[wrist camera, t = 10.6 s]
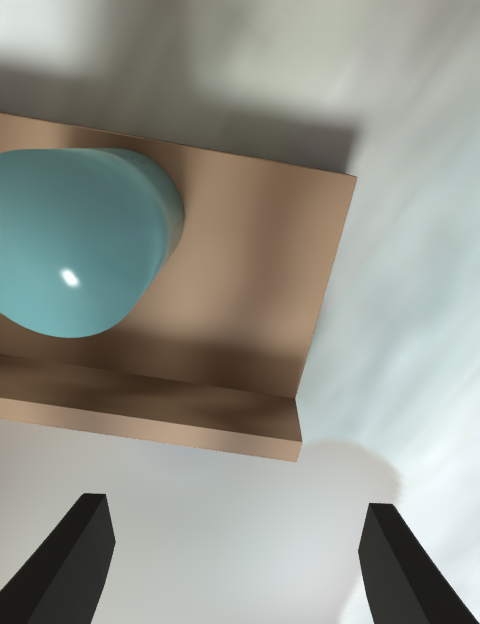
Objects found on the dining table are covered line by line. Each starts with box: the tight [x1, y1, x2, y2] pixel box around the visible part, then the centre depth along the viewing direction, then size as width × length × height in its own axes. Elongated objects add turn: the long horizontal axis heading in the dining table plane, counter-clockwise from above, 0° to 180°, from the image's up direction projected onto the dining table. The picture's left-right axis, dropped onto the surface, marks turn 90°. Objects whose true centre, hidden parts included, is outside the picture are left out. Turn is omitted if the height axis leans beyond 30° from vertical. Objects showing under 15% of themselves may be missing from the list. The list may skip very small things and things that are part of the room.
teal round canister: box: [0, 148, 185, 338], centre depth 12 cm, size 5×5×6 cm
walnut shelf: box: [0, 112, 357, 462], centre depth 16 cm, size 18×12×5 cm, turn 81°
